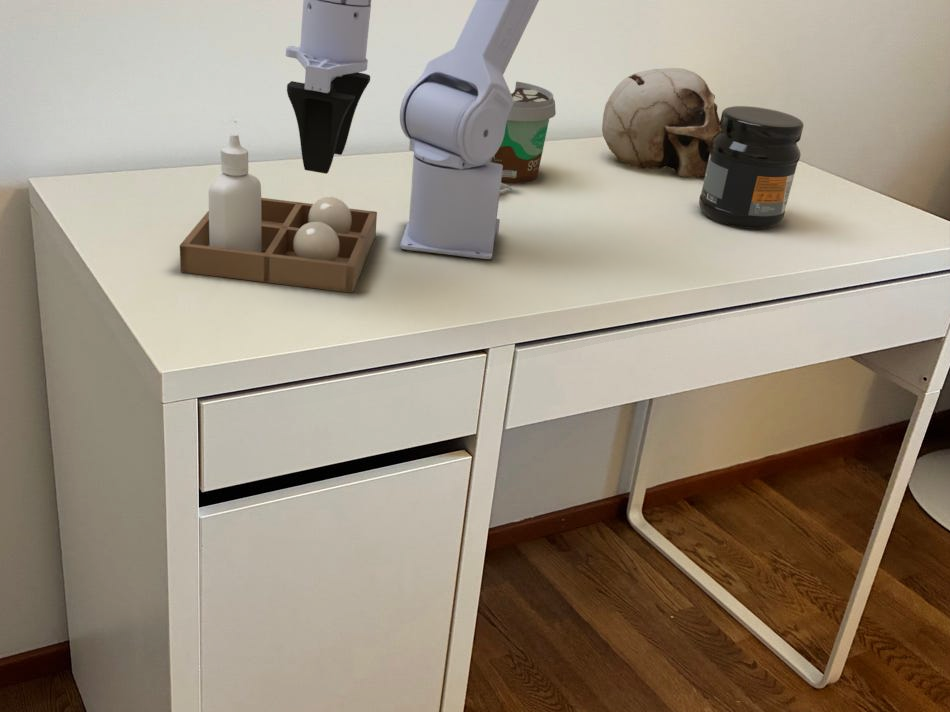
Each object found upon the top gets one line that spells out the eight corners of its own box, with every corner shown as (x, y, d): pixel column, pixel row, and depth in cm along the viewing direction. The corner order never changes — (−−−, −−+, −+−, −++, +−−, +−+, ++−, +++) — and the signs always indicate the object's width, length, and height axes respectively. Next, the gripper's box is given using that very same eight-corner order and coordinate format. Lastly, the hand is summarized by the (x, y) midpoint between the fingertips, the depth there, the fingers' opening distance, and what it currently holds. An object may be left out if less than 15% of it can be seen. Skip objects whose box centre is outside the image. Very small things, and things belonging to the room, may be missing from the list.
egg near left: (354, 236, 115) (356, 194, 112) (347, 250, 111) (349, 207, 109) (311, 231, 115) (312, 188, 112) (303, 245, 111) (304, 202, 109)
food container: (538, 193, 135) (550, 108, 130) (489, 184, 136) (498, 100, 131) (553, 167, 146) (564, 87, 140) (507, 159, 146) (516, 80, 141)
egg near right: (342, 262, 108) (344, 218, 106) (335, 278, 105) (336, 233, 102) (297, 256, 108) (298, 212, 106) (288, 272, 105) (289, 227, 102)
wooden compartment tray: (375, 235, 117) (377, 211, 115) (352, 293, 103) (353, 266, 102) (223, 217, 117) (223, 192, 115) (180, 272, 103) (179, 245, 102)
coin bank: (749, 170, 154) (764, 69, 146) (672, 201, 144) (683, 95, 136) (659, 144, 163) (669, 48, 155) (581, 171, 153) (587, 70, 145)
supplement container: (799, 230, 134) (827, 128, 128) (727, 233, 130) (751, 128, 124) (750, 201, 142) (774, 104, 135) (680, 203, 138) (701, 104, 132)
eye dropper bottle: (199, 256, 107) (195, 129, 100) (254, 250, 109) (253, 126, 103) (217, 273, 104) (214, 143, 97) (272, 266, 107) (273, 139, 100)
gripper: (306, -16, 100) (296, 137, 107) (272, -1, 88) (262, 172, 95) (383, -2, 101) (368, 150, 107) (360, 15, 88) (344, 186, 95)
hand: (324, 161), depth 101 cm, fingers open, 7 cm apart
